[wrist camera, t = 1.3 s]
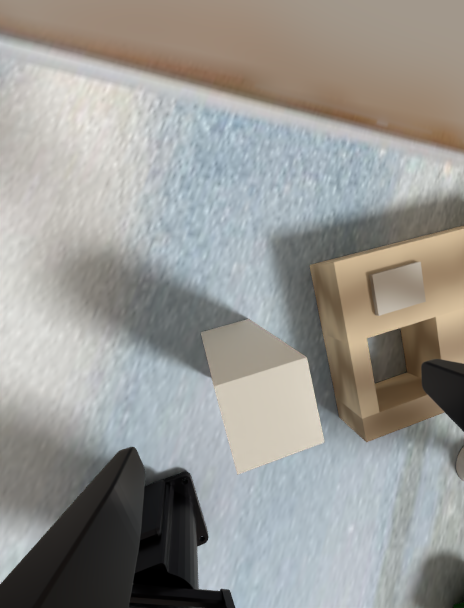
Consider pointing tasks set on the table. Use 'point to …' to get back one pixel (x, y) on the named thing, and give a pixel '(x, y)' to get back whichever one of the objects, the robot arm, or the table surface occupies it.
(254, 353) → the plug
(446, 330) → the socket board
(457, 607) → the clamp
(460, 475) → the chalice
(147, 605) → the robot arm
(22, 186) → the table surface
